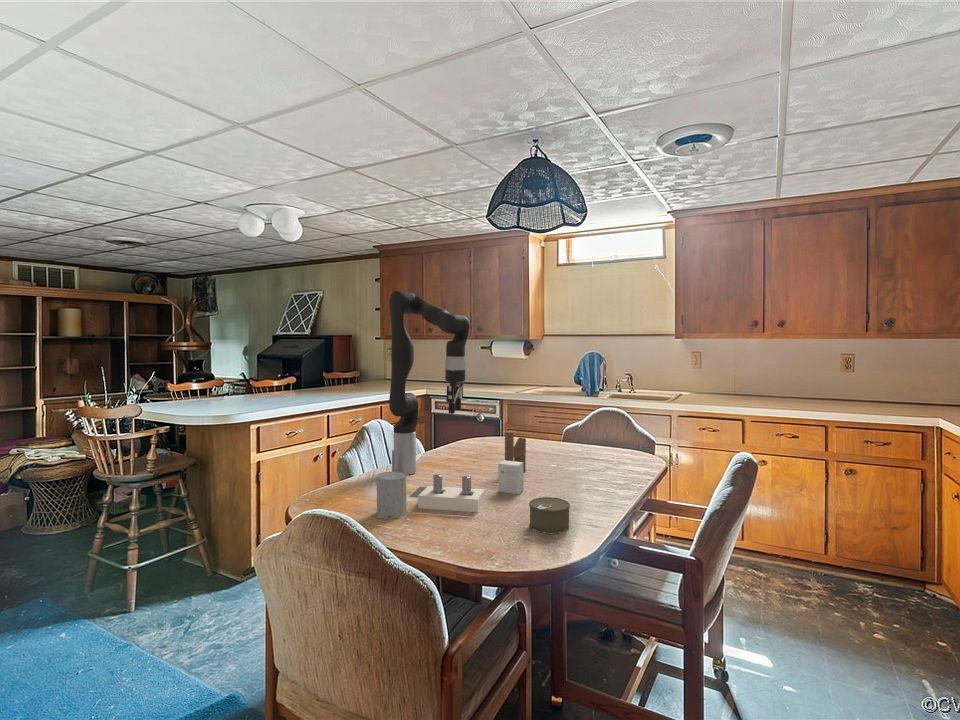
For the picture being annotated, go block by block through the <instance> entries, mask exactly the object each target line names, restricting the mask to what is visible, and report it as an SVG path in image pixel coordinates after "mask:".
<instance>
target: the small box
mask: <svg viewBox="0 0 960 720" xmlns="http://www.w3.org/2000/svg"><path fill="white" fill-rule="evenodd" d="M497 466H498V468H497V469H498V470H497V471H498V473H497V474H498V477H497V479H498V483H497V485H498V492H499V493H500V492H501V493H507V494H514V495H520V493H522V492H523V491H524V487H525V486H524V485H525V484H524V481H525V480H524V478H525V477H524V472H523V462H515V461H505V459H504V460H502V461H501V462H498V464H497Z"/></svg>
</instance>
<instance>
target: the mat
mask: <svg viewBox="0 0 960 720" xmlns="http://www.w3.org/2000/svg"><path fill="white" fill-rule="evenodd" d="M427 487H428V486H419V487H418V488H416V490H415V491H413V492H412V493H411V495H409V496H408V497H409V498H418V495H419V494H420V493H421V492H422V491H424V490H425V489H426V488H427Z"/></svg>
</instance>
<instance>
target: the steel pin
mask: <svg viewBox="0 0 960 720" xmlns="http://www.w3.org/2000/svg"><path fill="white" fill-rule="evenodd" d="M432 481H433V485H432V486H433V493H436V494H442V487H443V474H441V473H440V474H439V473H436V474H433V479H432Z"/></svg>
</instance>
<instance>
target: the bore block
mask: <svg viewBox="0 0 960 720" xmlns="http://www.w3.org/2000/svg"><path fill="white" fill-rule="evenodd" d="M426 487H427V488H426V489H425V490H424V491H422V492H421V493H420V494H419V495H418V497H417V499H418V500H417V503H418V504H417V506H418V509H426V510H427V509H428V510H439V511H440V510H441V511H452V512H453V511H454V512H455V511H456V512H465V513H466V512H468V513H470V512H471V513H477V514H479V513H480V510H481V509H482V507H483V506H484V505H485V500H486V497H485V496H486V495H485V491H486V490H485V488H482V489H481V488H471V496H466V495H462V487H453V486H442V494H436V493H433V485H428V486H426Z"/></svg>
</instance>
